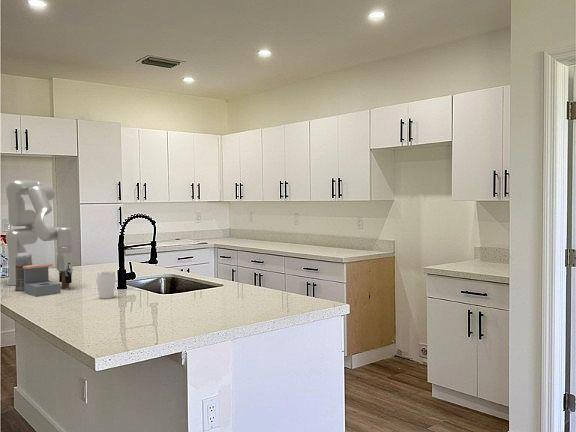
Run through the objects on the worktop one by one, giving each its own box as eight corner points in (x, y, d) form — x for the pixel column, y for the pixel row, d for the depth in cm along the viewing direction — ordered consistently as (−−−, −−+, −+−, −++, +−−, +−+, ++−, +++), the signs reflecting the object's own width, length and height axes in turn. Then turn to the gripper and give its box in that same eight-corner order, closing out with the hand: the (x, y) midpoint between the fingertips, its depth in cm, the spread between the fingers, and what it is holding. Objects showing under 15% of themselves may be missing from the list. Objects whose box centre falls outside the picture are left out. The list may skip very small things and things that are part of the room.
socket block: (23, 292, 268) (22, 266, 267) (48, 289, 277) (48, 263, 277) (35, 296, 257) (34, 268, 256) (61, 293, 266) (60, 266, 266)
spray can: (36, 288, 280) (35, 252, 279) (27, 291, 272) (26, 253, 271) (21, 288, 281) (20, 251, 280) (12, 291, 273) (11, 253, 272)
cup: (92, 298, 253) (92, 273, 253) (106, 294, 261) (106, 271, 261) (105, 299, 249) (105, 275, 249) (119, 296, 257) (119, 272, 257)
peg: (60, 288, 280) (60, 266, 280) (67, 287, 283) (66, 265, 283) (63, 289, 278) (63, 267, 277) (70, 288, 281) (69, 266, 280)
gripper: (51, 249, 283) (51, 281, 284) (64, 251, 271) (65, 285, 272) (64, 248, 288) (65, 280, 289) (78, 250, 276) (79, 283, 277)
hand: (65, 282), depth 280 cm, fingers open, 6 cm apart
